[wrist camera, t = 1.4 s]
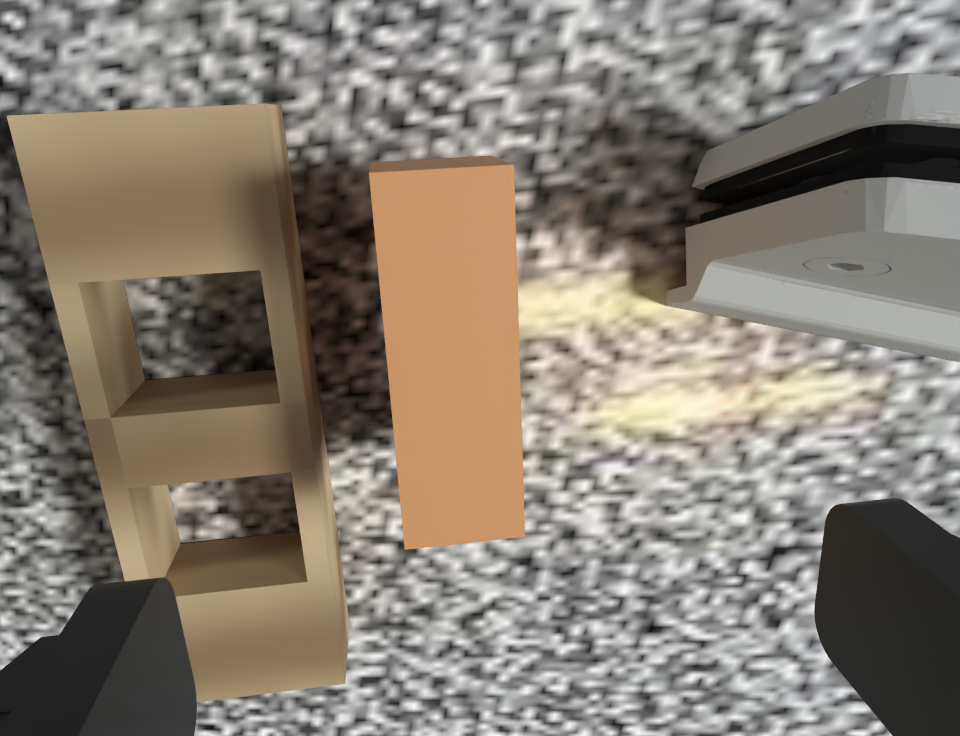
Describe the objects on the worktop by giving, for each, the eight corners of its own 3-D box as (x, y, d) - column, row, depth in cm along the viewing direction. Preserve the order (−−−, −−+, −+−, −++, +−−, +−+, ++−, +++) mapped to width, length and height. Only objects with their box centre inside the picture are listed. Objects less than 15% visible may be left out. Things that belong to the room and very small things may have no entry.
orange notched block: (374, 155, 21) (368, 172, 15) (475, 149, 21) (514, 164, 15) (400, 432, 24) (404, 549, 18) (488, 424, 25) (525, 536, 18)
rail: (60, 115, 20) (7, 115, 17) (281, 105, 20) (264, 103, 18) (181, 643, 26) (156, 707, 23) (349, 623, 26) (345, 683, 24)
